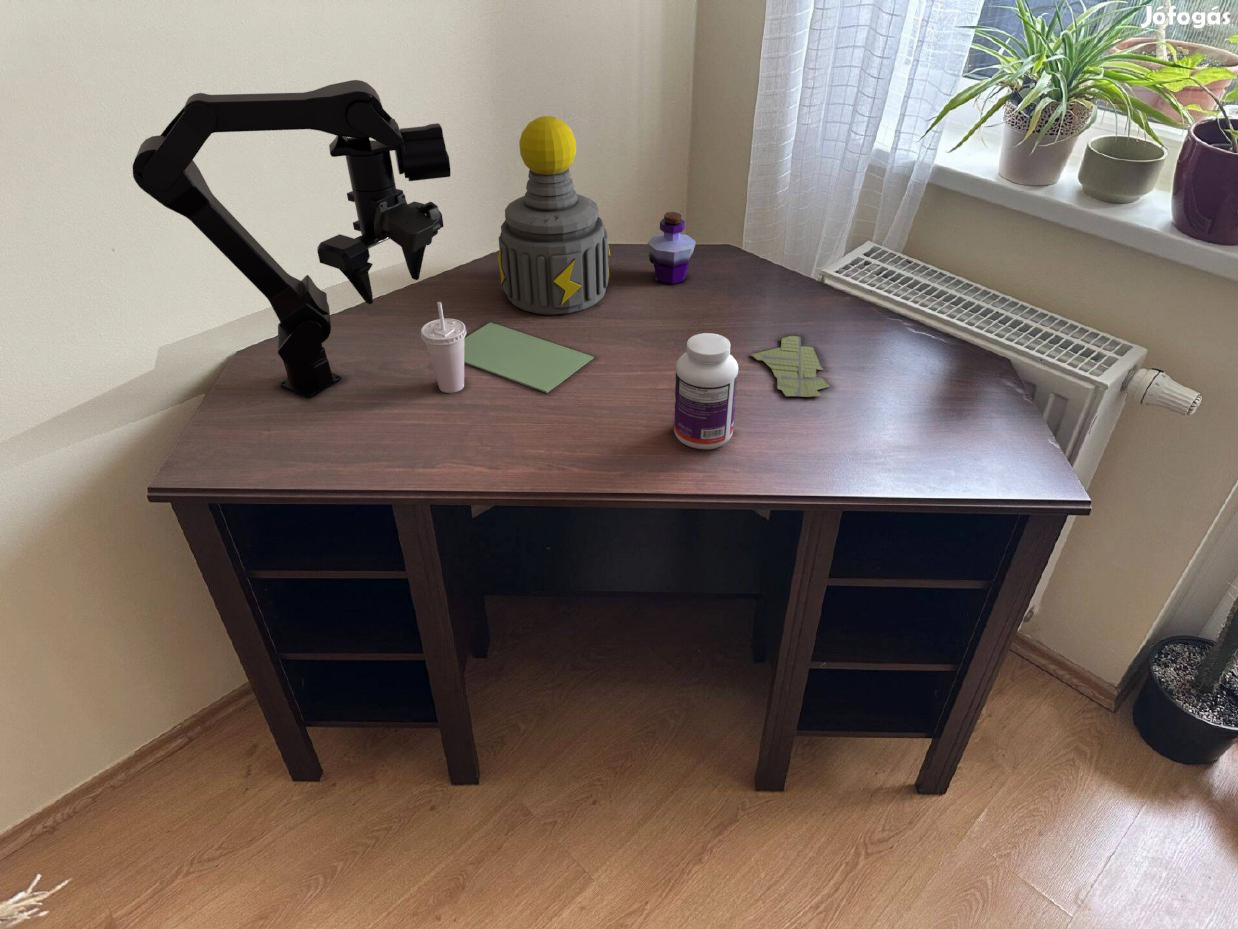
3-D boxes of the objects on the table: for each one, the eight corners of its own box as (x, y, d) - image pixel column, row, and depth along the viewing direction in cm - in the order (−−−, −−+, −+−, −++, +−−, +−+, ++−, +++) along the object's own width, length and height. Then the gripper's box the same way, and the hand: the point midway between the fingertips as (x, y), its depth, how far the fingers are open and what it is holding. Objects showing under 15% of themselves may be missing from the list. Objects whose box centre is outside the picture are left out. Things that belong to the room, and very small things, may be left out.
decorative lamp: (493, 278, 159) (475, 106, 141) (592, 264, 163) (587, 96, 145) (515, 325, 144) (498, 140, 126) (623, 308, 149) (621, 128, 131)
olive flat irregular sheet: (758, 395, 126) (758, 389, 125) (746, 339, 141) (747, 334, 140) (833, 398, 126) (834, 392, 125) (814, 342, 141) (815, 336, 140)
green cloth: (441, 354, 137) (440, 352, 137) (490, 323, 145) (490, 322, 145) (547, 393, 128) (546, 391, 128) (593, 358, 136) (593, 356, 136)
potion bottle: (645, 268, 161) (645, 205, 154) (691, 267, 162) (694, 204, 154) (649, 289, 155) (650, 224, 147) (697, 287, 155) (700, 222, 148)
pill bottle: (696, 412, 123) (700, 321, 115) (743, 432, 119) (752, 340, 111) (661, 438, 118) (664, 345, 110) (710, 460, 114) (716, 366, 106)
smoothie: (432, 400, 127) (417, 314, 118) (427, 378, 131) (413, 293, 123) (476, 393, 128) (464, 307, 119) (470, 372, 133) (458, 287, 124)
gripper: (363, 219, 107) (385, 331, 116) (465, 174, 119) (477, 280, 129) (302, 201, 112) (328, 311, 121) (406, 160, 124) (422, 263, 134)
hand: (393, 291), depth 126 cm, fingers open, 9 cm apart
